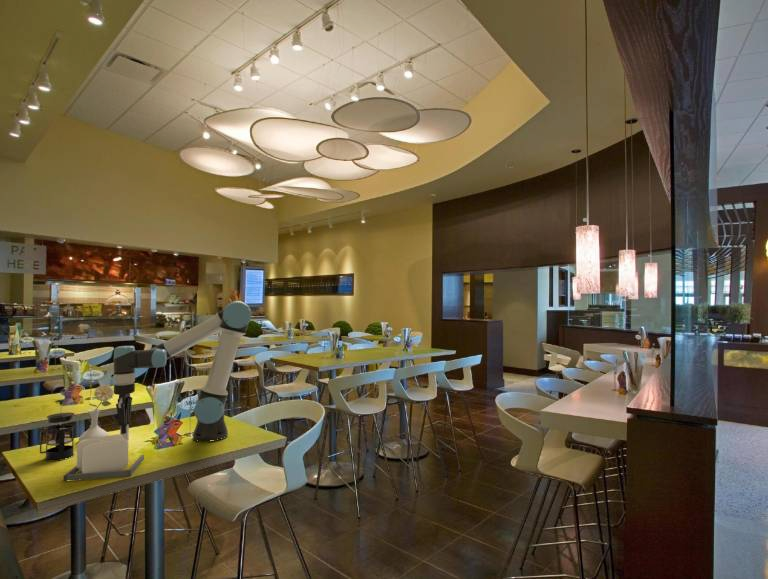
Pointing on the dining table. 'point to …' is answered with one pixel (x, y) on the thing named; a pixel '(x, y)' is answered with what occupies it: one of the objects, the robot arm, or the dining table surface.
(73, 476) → the frame
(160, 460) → the dining table surface
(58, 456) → the french press
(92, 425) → the flower in vase
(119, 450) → the white napkin holder
